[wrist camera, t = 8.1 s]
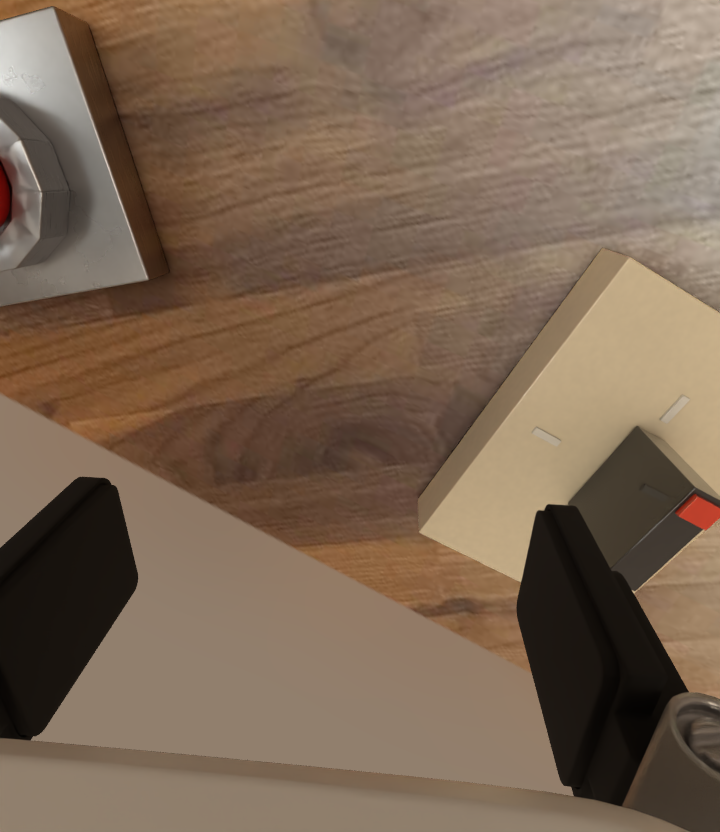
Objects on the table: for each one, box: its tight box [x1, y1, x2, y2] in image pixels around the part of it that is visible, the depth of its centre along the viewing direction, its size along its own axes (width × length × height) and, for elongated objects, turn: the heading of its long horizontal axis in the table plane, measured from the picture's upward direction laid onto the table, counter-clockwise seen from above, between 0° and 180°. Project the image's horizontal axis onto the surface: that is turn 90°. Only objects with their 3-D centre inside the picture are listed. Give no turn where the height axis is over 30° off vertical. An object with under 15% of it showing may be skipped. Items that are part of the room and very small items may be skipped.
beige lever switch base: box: [418, 248, 720, 593], centre depth 25 cm, size 16×12×3 cm
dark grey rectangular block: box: [568, 426, 720, 591], centre depth 21 cm, size 5×2×5 cm, turn 153°
